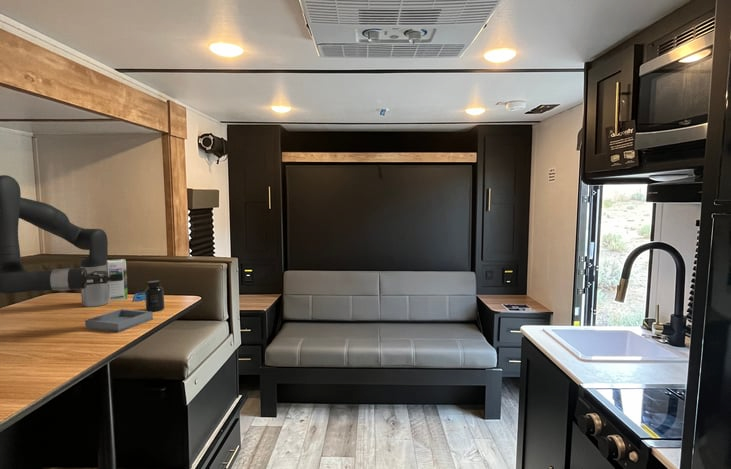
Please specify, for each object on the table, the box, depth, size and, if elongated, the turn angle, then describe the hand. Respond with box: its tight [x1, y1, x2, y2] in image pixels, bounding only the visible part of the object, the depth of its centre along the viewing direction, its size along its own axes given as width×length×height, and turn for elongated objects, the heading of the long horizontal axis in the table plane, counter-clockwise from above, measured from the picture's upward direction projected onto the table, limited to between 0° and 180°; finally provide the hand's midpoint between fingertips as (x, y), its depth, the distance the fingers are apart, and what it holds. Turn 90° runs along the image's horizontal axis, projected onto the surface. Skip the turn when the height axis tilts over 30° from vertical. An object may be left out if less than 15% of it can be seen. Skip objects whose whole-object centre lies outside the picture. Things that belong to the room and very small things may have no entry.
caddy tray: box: [84, 308, 154, 333], centre depth 146 cm, size 15×15×3 cm
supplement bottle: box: [144, 280, 165, 313], centre depth 164 cm, size 7×7×12 cm
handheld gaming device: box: [133, 292, 145, 302], centre depth 186 cm, size 8×1×15 cm
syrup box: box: [106, 258, 129, 302], centre depth 145 cm, size 6×6×14 cm
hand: (124, 275), depth 145 cm, fingers closed on syrup box, 6 cm apart
